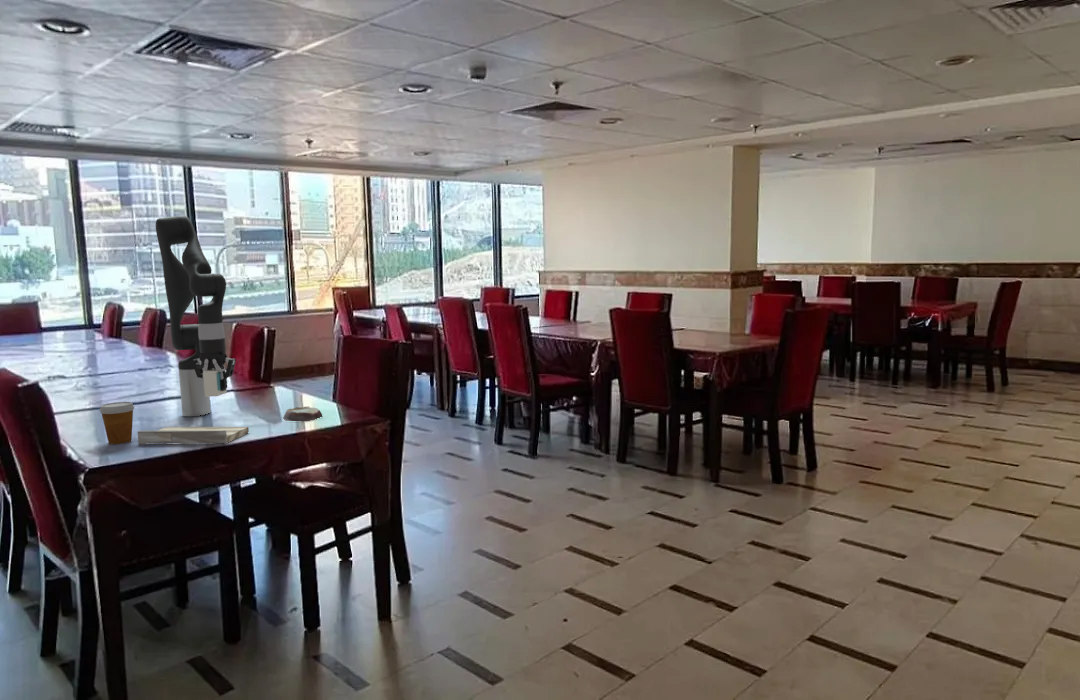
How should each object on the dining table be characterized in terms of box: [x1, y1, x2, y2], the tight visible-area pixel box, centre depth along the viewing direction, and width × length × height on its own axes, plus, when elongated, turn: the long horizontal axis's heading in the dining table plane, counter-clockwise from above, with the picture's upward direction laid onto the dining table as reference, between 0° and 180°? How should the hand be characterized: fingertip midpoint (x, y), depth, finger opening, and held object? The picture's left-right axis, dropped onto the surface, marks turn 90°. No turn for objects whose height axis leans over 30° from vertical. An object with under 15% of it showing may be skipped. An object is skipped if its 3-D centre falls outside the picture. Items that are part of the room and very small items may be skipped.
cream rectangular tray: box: [136, 426, 250, 445], centre depth 235 cm, size 15×28×4 cm, turn 85°
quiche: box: [282, 406, 323, 422], centre depth 264 cm, size 21×20×4 cm
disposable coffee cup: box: [99, 401, 135, 445], centre depth 232 cm, size 10×10×12 cm
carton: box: [203, 368, 227, 397], centre depth 236 cm, size 6×4×8 cm
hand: (215, 390), depth 237 cm, fingers closed on carton, 4 cm apart
